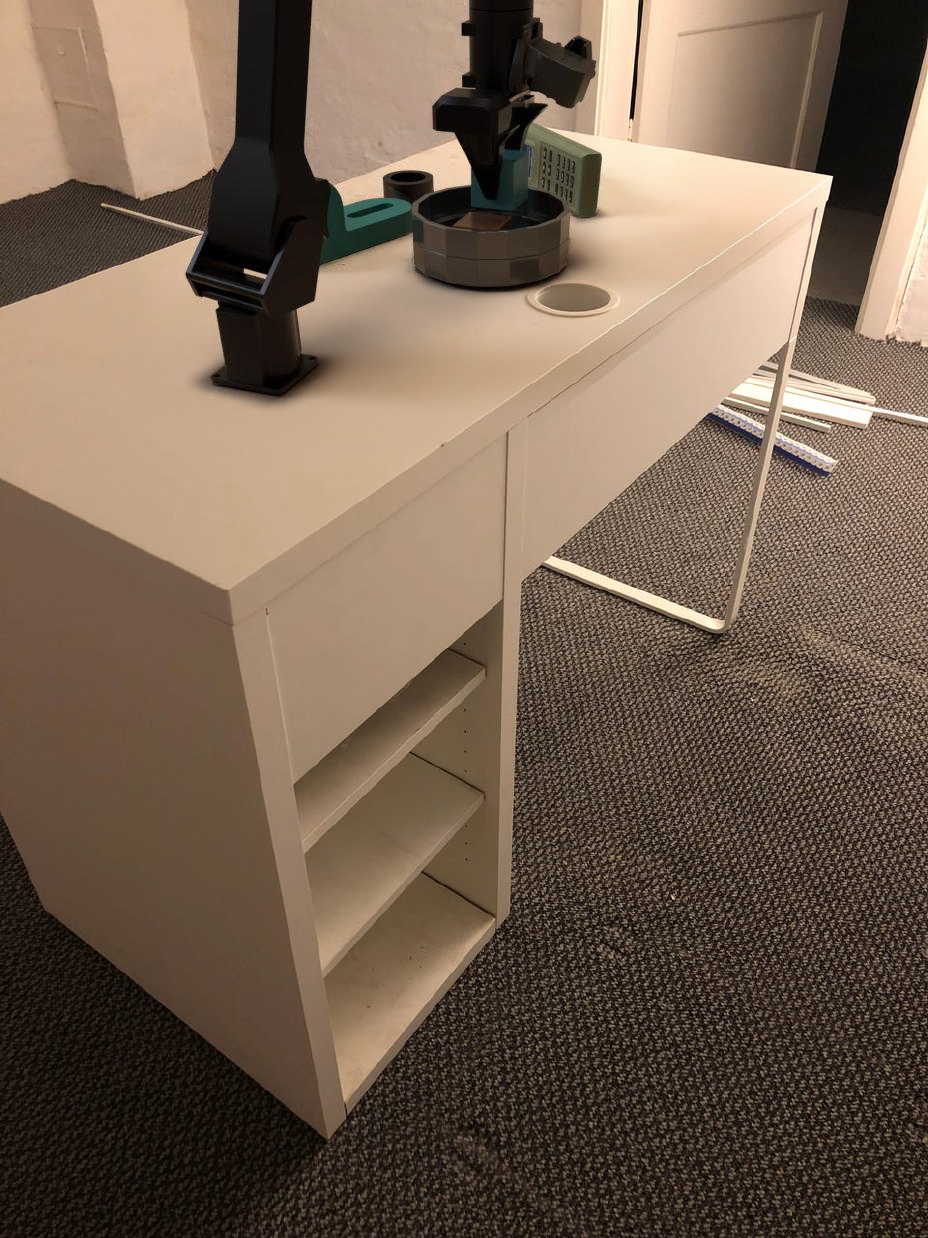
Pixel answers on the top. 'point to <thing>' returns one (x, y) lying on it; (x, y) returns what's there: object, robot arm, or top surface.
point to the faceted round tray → (490, 239)
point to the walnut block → (484, 222)
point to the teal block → (506, 183)
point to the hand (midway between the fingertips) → (499, 192)
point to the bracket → (363, 224)
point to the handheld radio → (564, 168)
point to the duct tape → (407, 185)
